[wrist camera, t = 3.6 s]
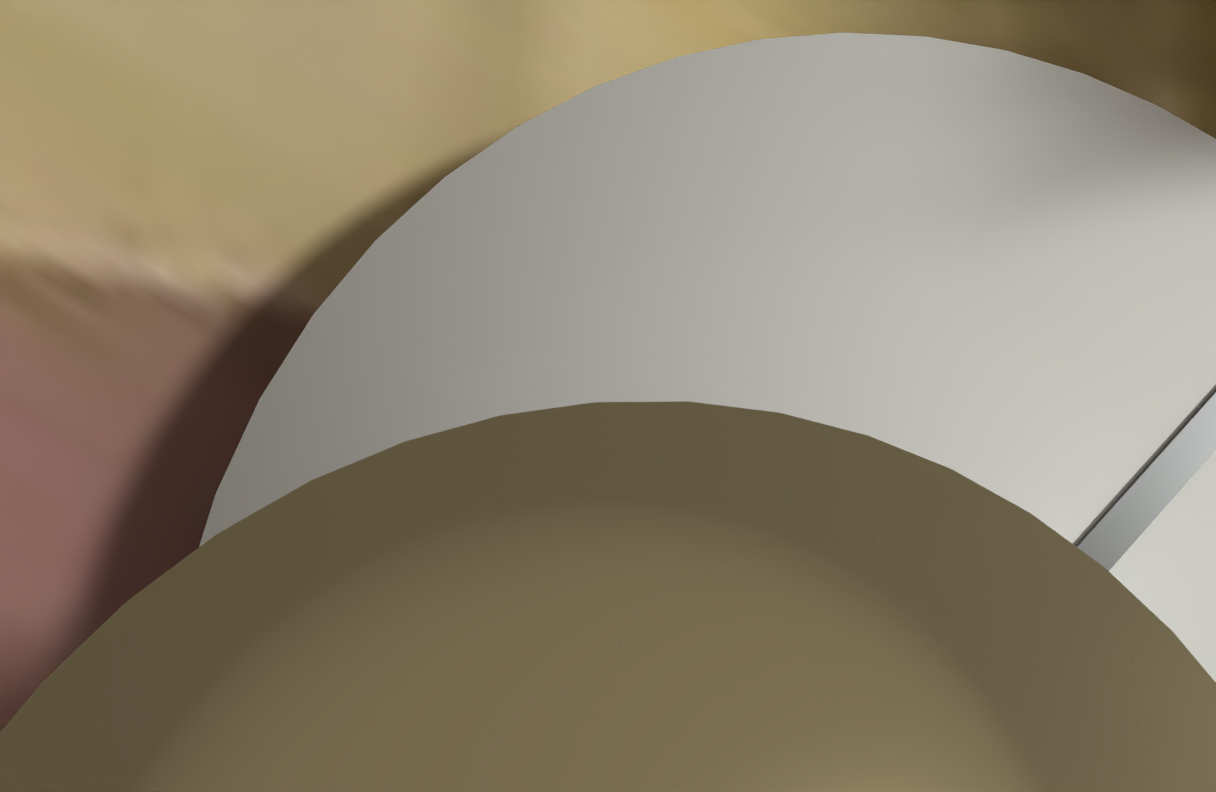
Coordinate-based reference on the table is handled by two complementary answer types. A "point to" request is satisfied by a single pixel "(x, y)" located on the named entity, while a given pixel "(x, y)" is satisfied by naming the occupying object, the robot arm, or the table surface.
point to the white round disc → (814, 287)
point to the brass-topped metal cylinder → (628, 630)
